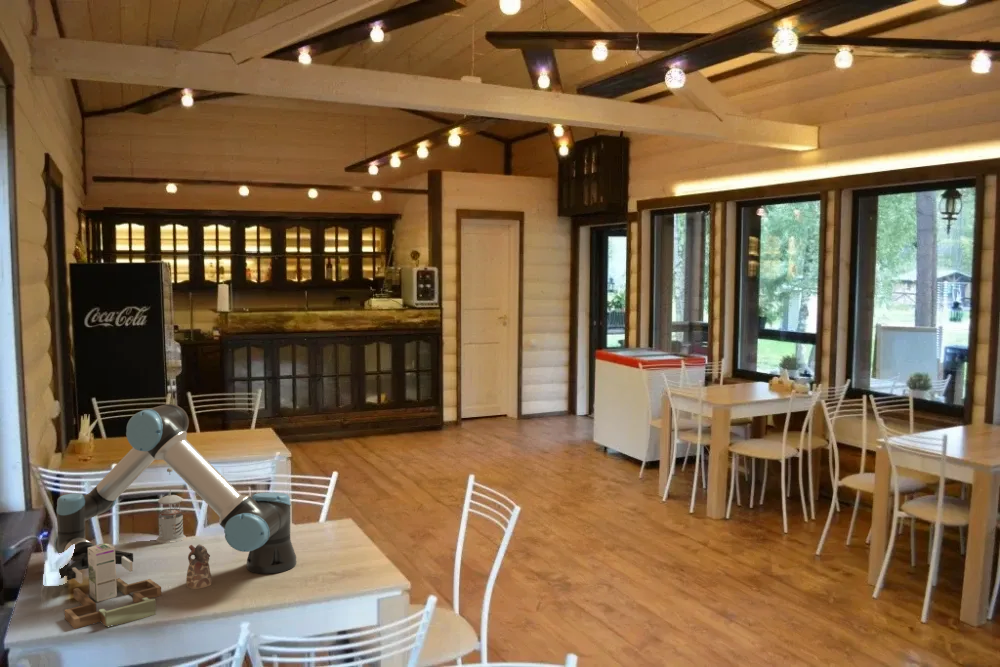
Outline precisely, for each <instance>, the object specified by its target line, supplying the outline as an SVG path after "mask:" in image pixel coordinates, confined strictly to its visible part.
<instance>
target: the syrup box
mask: <svg viewBox="0 0 1000 667" xmlns="http://www.w3.org/2000/svg"><path fill="white" fill-rule="evenodd" d="M94 545H95V546H92V547H89V548H88V568H87V569H88V570H87V571H88V592H89V596H88V597H89V598H90V599H91V600H93V601H94V602H95V603H98V602H102V601H106V600H110V599H113V598H116V597H118V593H117V591H118V589H117V585H116V579H117V564H116V561H115V550H116V548H115V547H114V546H113V545H111V544H109V543H107V542H105V543H100V544H94Z"/></svg>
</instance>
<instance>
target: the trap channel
mask: <svg viewBox="0 0 1000 667" xmlns="http://www.w3.org/2000/svg"><path fill="white" fill-rule="evenodd" d="M116 585H117V591H119V592H121V593H122V594H123V595H125V596H128V595H129V596H131V597H132V602H133V603H131V604H128V605H124V606H120V607H117V608H113V609H109V610H106V609H105V608H100V609H98V611H97V602H96V601H95V600H94V599H92V598H91V597H90V596H88V595H87V594H86V593H85V592H83V590H81V589H80V588H79V587H76V588H73V599H75V601H77V602H78V603H79V604H80V605H78V606H75V607H70V608H67V609H64V620H65V621H66V622H67V623H68V624H69V625H70V626H71V627H72V628H73V629H74V630H77V629H79V628H83V627H87V625H88V626H91V625H94V624H93V623H95V624H98V623H97V622H99V623H101V622H102V623H103V624H104V625H105V626H107V627H108V626H111V625H116V626H118V625H117V624H119V625H123V624H125V623H130V622H133V621H137V620H141V619H144V618H147V617H151V616H154V615H156V614H157V610H156V609H157V608H156V606H157V605H156V603H157V602H156V599H155V598H157V597H161V596H162V586H160V585H159V584H158V583H156V582H155V581H153V580H152V579H150V578H149V579H144V580H141V581H136V582H133V583H129V584H128V583H127V582H126V581H125V580H123V579H122V578H120V577H119V578H118V577H116ZM100 621H101V622H100ZM102 623H101V624H102ZM90 624H91V625H90ZM103 624H102V625H103ZM104 625H103V626H104ZM105 626H104V627H105ZM107 627H106V628H107Z"/></svg>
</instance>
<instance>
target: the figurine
mask: <svg viewBox="0 0 1000 667" xmlns="http://www.w3.org/2000/svg"><path fill="white" fill-rule="evenodd" d="M188 548H189V549H190V551H189V554H188V556H187V559H188V562H189V564H188V568H187V572H186V579H185V580H186V581H185V584H186V587H187V588H188V589H192V590H198V589H203V588H206V587H210V586H211V585H212V584H213V581H212V573H211V569H210V564H209V561H210V557H211V555H210V554H209V553H208V549H207V548H206V547H205V546H204V545H203V544H197V545H196V546H194V545H193V544H190V545H189V546H188ZM192 556H194V558H192Z"/></svg>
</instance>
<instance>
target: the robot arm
mask: <svg viewBox="0 0 1000 667" xmlns="http://www.w3.org/2000/svg"><path fill="white" fill-rule="evenodd" d="M189 424H190V418H189V416H188V414H187V412H186V411H185V410H184V408H182V407H180V406H179V405H176V404H173V403H166V404H161V405H159V406H155V407H151V408H145V409H142V410H141V411H139V412H136V413H135V414H133V416H131V418H130V419H129V420H128V422H127V424H126V432H125V435H126V439H127V441H128V443H129V445H130V446H131V447H132V448H131V449H130V450H129V451H128V452H127V453H126V454H125V455H124V456H123V457H122V458H121V460H119V462H117V464H116V465H115V466H114V467H113V468H112V469H111V470H110V471H109V472H108V473H107V474H106V475H105V476H104V477H103V479H101V481H100V482H98V484H96V486H94V488H92V490H91V491H90V492H89V493H87V494H82V493H76V492H75V493H68V494H63V495H61V496H59V497H58V498H57V502H56V505H57V506H56V510H55V511H56V523H57V524H56V525H57V535H56V537H55V539H54V543H53V546H54V549H55V551H56V552H57V553H58V554H59V553H62V552H64V551H65V550H67V549H68V548H69V547H70V546H71V545H73V544H75V549H74V553H73V556H72V558H71V560H70V561H69V563H68V564H67V565H65V566H64V567H63V568H61V569H60V568H59V569H58V574H59V573H60V575H61V578H60V579H64V578H65V577H66V580H67V581H70V580H73V579H74V580H75V581H76V582H77V583H79V584H83V583H84V580H83V574H84V573H83V572H81V571H82V570H87V569H88V548H89V547H92V546H95V545H96V544H94V543H92V542H91V541H89V540H88V539H86V521H88V520H90V519H92V518H94V517H96V516H98V515H99V516H100V515H101V514H104V513H106V512H108V511H109V510H111V509H112V508H113V507H114V506H115V505H116V503H117V499H118V498H119V497H120V496H121V495H122V494H123V493H124V492H125V491H126V490H127V489H128V488H129V487H130V486H131V485H132V484H133V483H134V482H135V481H136V480H137V479H138V477H140V476H141V474H143V472H144V471H146V469H147V468H149V466H150V465H151V464H152V463H153V462H154V461H155V460H156V461H157V460H159V461H160V460H161V461H162V460H163V461H164V462H165V463H166V464H167V465H168V466H169V468H172V469H173V471H174V472H175V473H176V474H177V475H178V476H179V477H180V478H181V479H182V480H183V481H184V482H185V483H186V484H187V485H188V486H189V487H190V488H191V490H193V491H194V493H196V494H197V495H198V497H200V498H201V499H202V501H204V503H206V504H207V506H208V507H210V509H211V510H213V511H214V513H215V514H216V515H217V516H218V517H219V518H218V519H219V521H218V524H219V526H221V528H223V529H224V539H225V541H226V543H227V544H228V545H229V546H230V547H231V548H232V549H234V550H236V551H238V552H242V553H244V552H245V553H246V552H249V553H248V555H247V560H246V570H248V571H249V572H251V573H253V574H254V573H256V574H263V575H264V574H265V575H266V574H277V573H281V572H286V571H288V570H291V569H293V568H294V567H295V566H296V565H297V555H296V553H295V549H294V547H293V543H292V540H291V506H292V504H291V499H290V495H289V494H287V493H284V492H260V493H259V492H258V493H255V494H253V495H249V494H248V495H245V494H241V493H240V492H239V491H238V490H237V489H236V488H235V487H234V486H233V485H232V484H231V483H230V482H229V481H228V480H227V479H226V478H225V477H224V476H223V475H222V473H220V471H218V470H217V469H216V467H215V466H213V465H212V464H211V463H210V462H209V461H208V459H207V458H206V457H205V456H204V455H202V453H200V452H199V450H197V448H196V447H195V446H194V445H193V444H192V443H190V441H189V440H187V436H188V429H189ZM115 561H116V565H121V567H123V568H124V569H126V571H128V572H130V573H131V572H133V562H134V553H133V552H127V551H120V550H116V549H115ZM64 576H65V577H64Z"/></svg>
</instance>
